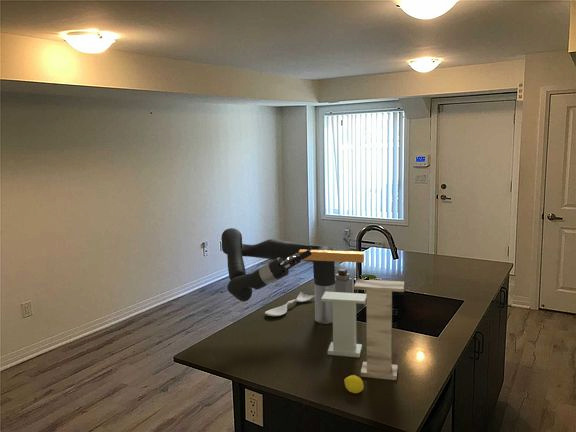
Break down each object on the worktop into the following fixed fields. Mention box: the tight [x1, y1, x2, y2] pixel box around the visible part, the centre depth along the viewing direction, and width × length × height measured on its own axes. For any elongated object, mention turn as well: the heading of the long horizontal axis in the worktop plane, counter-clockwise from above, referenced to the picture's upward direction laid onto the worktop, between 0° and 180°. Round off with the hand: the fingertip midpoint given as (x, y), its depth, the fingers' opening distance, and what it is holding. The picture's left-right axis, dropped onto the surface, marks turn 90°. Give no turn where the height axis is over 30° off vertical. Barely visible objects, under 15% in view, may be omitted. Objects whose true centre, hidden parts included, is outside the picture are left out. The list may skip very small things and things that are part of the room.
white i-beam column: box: [321, 292, 367, 358], centre depth 180 cm, size 8×16×22 cm, turn 75°
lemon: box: [343, 374, 364, 394], centre depth 153 cm, size 7×5×5 cm
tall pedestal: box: [353, 278, 405, 381], centre depth 163 cm, size 8×16×32 cm, turn 75°
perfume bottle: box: [335, 268, 353, 293], centre depth 229 cm, size 7×7×18 cm
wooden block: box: [299, 249, 365, 263], centre depth 177 cm, size 3×24×3 cm, turn 75°
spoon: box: [264, 291, 315, 317], centre depth 229 cm, size 9×32×4 cm, turn 143°
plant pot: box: [361, 273, 378, 294], centre depth 247 cm, size 9×9×9 cm
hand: (310, 251), depth 179 cm, fingers closed on wooden block, 3 cm apart
